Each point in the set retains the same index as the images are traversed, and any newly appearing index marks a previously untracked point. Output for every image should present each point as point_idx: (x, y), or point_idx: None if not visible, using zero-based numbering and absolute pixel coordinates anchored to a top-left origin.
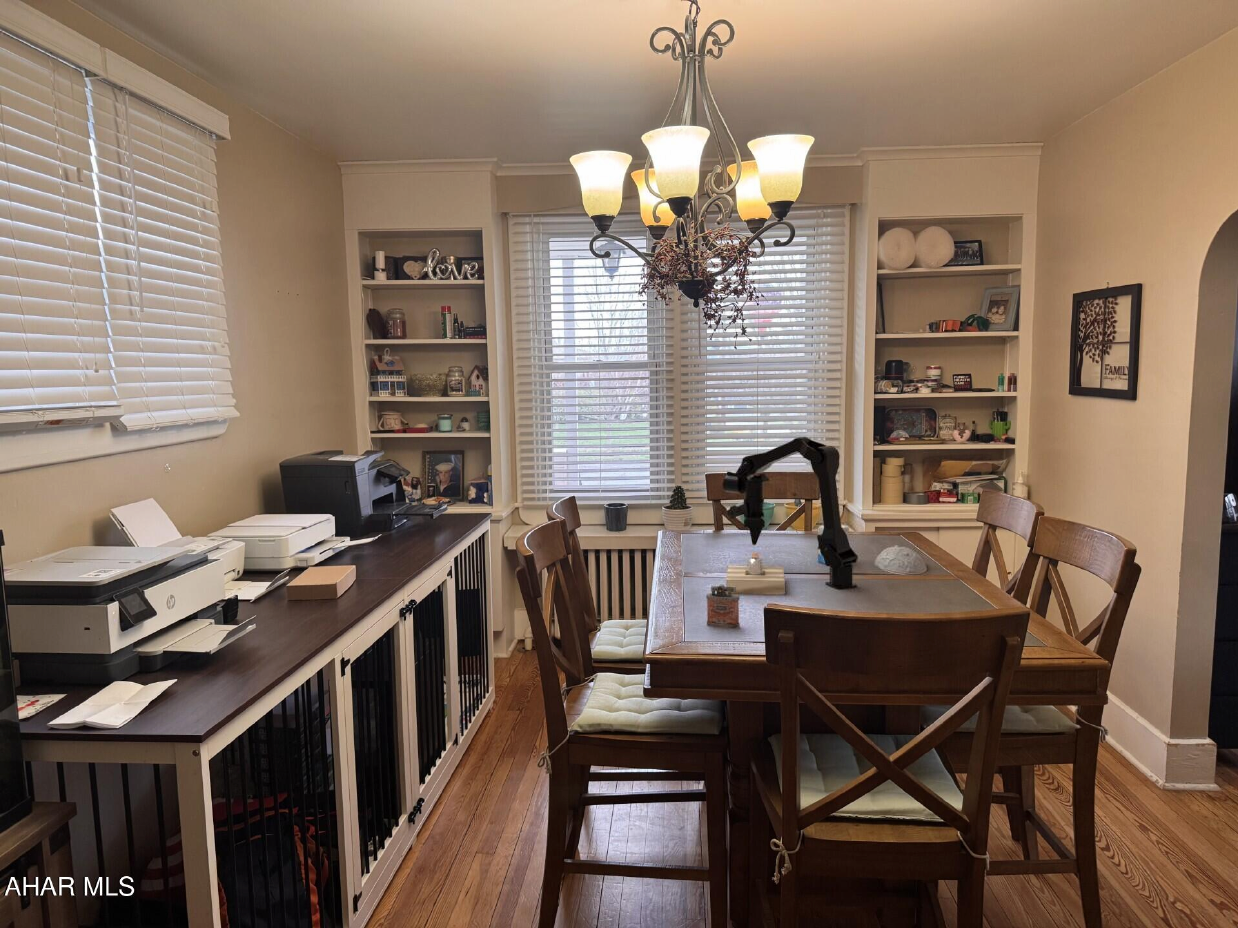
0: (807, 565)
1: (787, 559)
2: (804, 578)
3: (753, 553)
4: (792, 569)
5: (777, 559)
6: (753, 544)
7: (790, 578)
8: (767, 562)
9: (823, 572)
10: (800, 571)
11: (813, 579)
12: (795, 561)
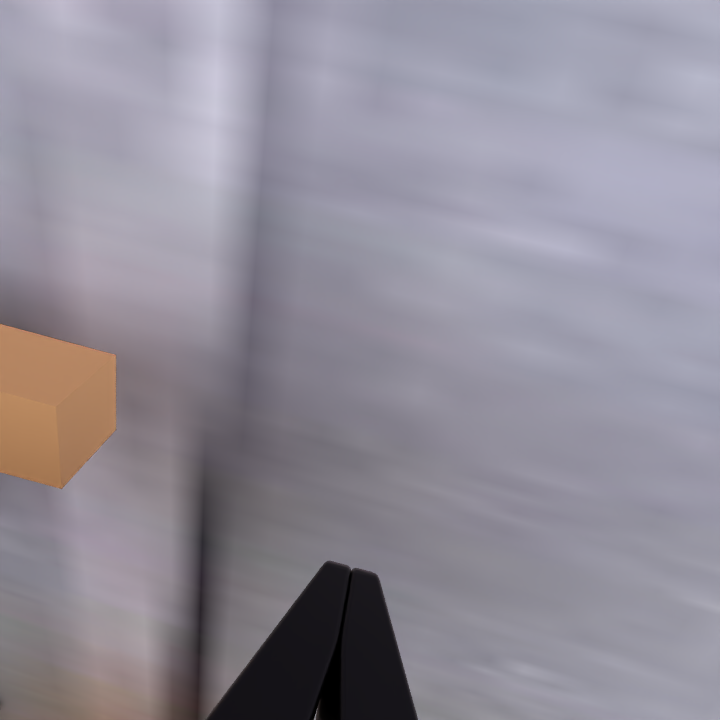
0: (425, 715)
1: (674, 689)
2: (58, 587)
3: (46, 422)
4: None
5: (716, 637)
6: (320, 574)
7: (46, 517)
8: (637, 539)
9: None
10: (255, 630)
11: (39, 618)
12: (578, 704)
